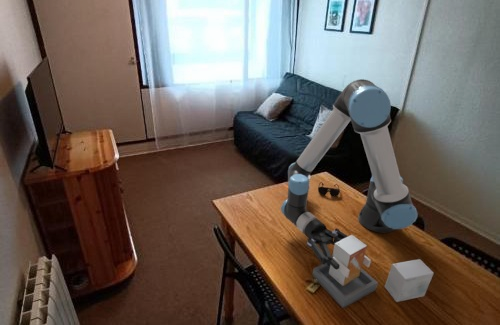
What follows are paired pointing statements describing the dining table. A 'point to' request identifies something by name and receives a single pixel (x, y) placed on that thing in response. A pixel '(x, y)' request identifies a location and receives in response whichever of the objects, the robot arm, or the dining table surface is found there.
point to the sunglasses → (325, 190)
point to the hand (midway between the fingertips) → (358, 268)
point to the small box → (348, 258)
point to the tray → (349, 291)
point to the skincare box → (408, 280)
